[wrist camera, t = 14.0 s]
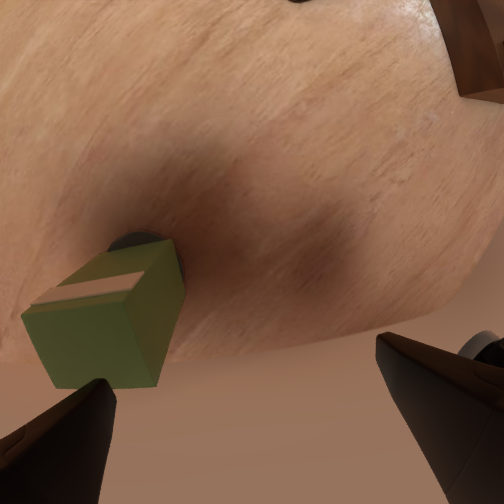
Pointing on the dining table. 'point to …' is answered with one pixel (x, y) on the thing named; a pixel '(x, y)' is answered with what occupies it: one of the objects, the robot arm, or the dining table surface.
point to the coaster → (143, 238)
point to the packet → (110, 318)
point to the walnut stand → (474, 45)
